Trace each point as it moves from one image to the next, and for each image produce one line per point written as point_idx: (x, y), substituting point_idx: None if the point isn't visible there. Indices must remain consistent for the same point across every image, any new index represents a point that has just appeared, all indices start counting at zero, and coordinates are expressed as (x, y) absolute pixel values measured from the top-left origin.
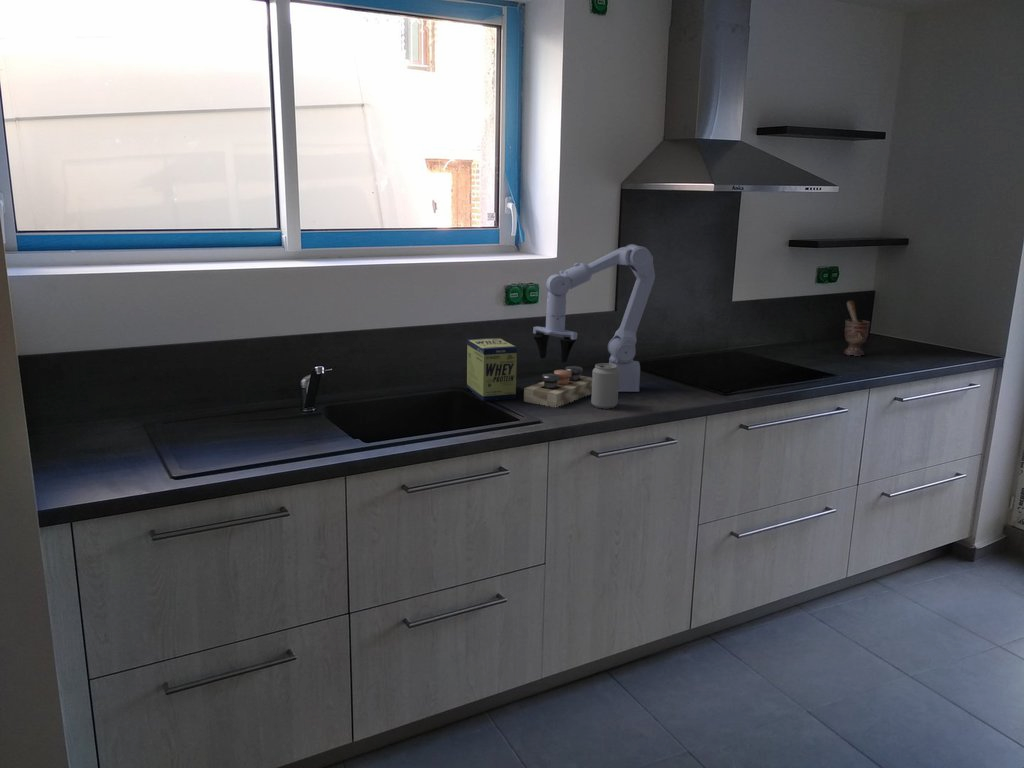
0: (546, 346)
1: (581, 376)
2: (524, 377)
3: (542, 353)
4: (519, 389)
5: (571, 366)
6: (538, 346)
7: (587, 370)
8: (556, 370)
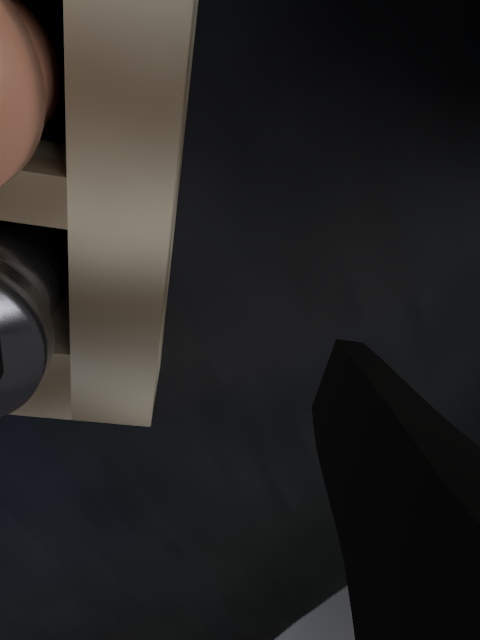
0: (347, 554)
1: None
2: (471, 413)
3: (353, 391)
4: (443, 106)
5: (11, 395)
6: (475, 455)
7: (215, 617)
8: (12, 111)
